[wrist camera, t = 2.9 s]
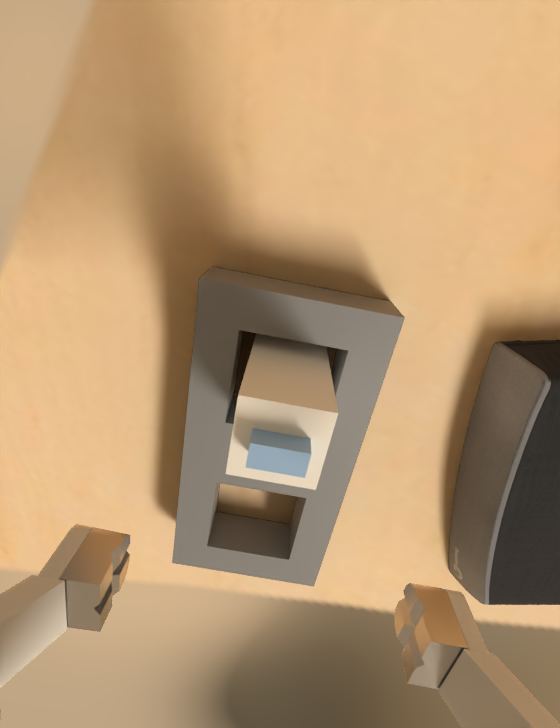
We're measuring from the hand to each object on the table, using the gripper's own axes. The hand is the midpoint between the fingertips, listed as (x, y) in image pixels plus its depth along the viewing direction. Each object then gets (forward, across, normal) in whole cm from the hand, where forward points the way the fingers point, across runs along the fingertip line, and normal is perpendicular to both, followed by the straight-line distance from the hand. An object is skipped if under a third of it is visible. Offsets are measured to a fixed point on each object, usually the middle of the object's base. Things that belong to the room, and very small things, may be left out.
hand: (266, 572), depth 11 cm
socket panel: (+13, 0, +4) cm, 14 cm away
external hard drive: (+14, -19, +3) cm, 24 cm away
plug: (+13, 0, -1) cm, 13 cm away
